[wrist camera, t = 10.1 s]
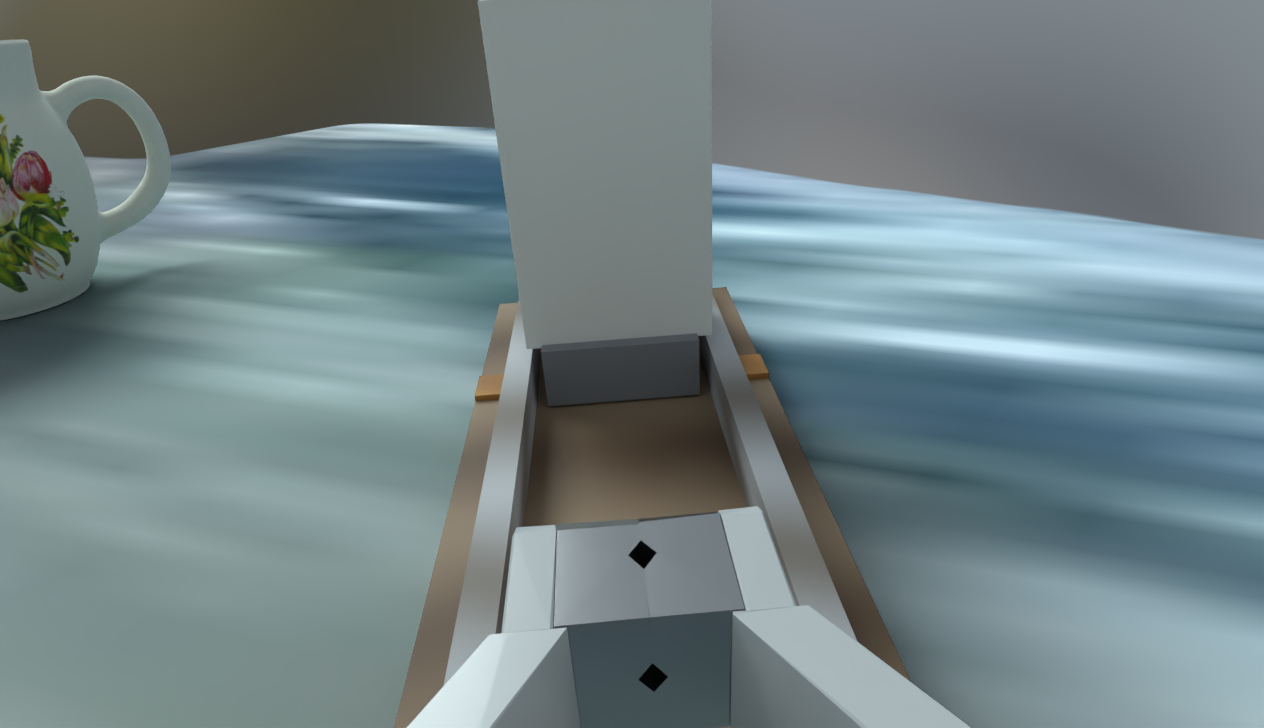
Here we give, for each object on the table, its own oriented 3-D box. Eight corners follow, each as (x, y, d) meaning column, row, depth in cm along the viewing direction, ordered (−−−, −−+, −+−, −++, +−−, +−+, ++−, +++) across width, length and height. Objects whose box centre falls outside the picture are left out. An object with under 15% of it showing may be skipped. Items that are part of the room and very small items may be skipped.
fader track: (1021, 1043, 11) (1078, 920, 9) (347, 1114, 10) (276, 1002, 9) (725, 328, 33) (726, 252, 31) (506, 344, 32) (494, 270, 31)
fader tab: (714, 393, 24) (714, -15, 18) (532, 407, 24) (474, 1, 18) (697, 339, 27) (692, -16, 22) (539, 351, 27) (492, -3, 21)
